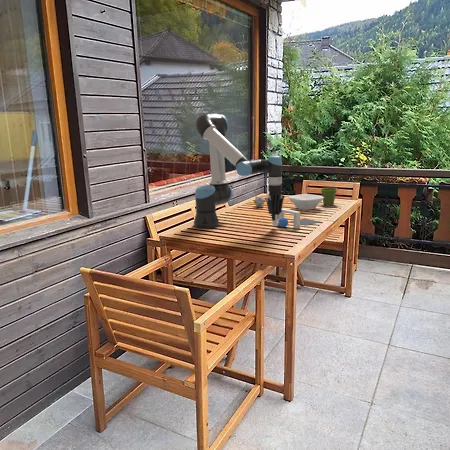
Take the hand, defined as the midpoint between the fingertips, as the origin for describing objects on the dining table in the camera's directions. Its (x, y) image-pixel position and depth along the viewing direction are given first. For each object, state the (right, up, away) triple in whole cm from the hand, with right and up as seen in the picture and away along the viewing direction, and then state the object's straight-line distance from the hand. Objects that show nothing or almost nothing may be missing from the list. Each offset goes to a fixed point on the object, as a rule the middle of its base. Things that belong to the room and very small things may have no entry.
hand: (275, 225), depth 234 cm
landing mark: (+20, +2, +15) cm, 25 cm away
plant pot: (+47, +15, +66) cm, 82 cm away
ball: (+5, +2, +3) cm, 6 cm away
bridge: (+9, 0, +7) cm, 11 cm away
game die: (-4, +13, +64) cm, 65 cm away
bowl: (+28, +11, +52) cm, 60 cm away
